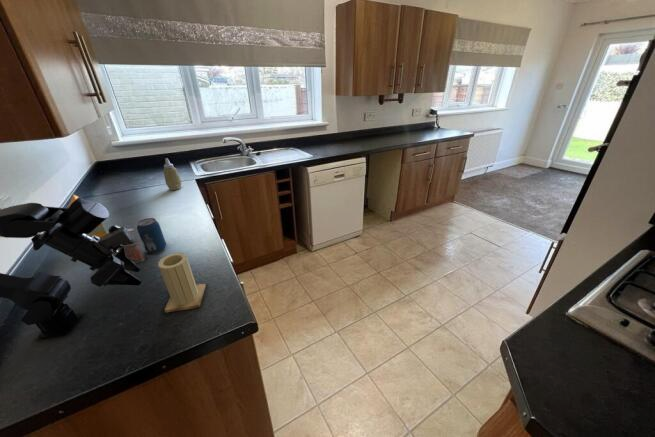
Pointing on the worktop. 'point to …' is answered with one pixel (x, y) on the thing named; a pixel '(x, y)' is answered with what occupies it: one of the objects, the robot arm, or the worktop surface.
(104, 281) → the robot arm
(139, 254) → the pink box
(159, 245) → the soda can
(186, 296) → the cream hollow cylinder
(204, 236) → the worktop surface
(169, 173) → the squeeze bottle
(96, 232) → the orange juice
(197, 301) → the stand
